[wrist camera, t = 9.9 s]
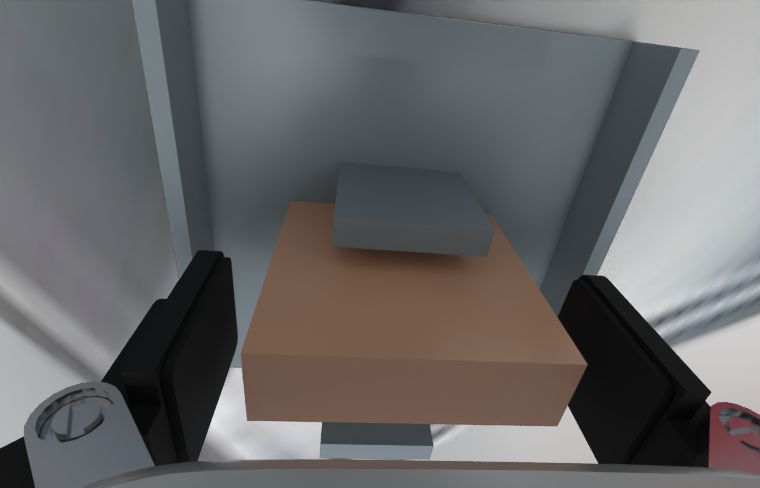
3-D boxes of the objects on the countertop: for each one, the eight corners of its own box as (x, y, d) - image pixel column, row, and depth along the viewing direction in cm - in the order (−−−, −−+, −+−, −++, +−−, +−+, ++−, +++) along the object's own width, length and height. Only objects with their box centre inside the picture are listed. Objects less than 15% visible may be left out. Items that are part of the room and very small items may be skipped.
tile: (290, 200, 14) (240, 353, 8) (490, 214, 14) (588, 364, 8) (291, 251, 15) (246, 420, 9) (478, 261, 15) (557, 426, 9)
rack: (170, -18, 11) (57, -30, 7) (637, 41, 13) (781, 61, 8) (216, 349, 18) (173, 455, 14) (514, 361, 20) (558, 461, 15)
